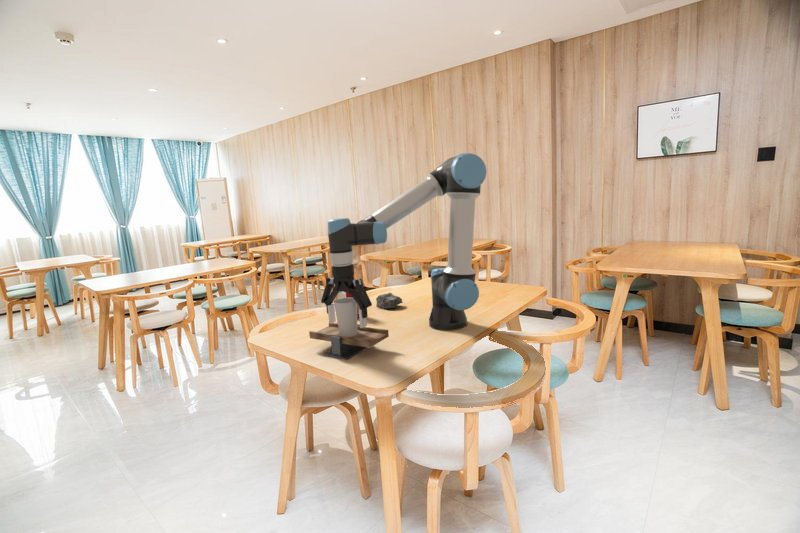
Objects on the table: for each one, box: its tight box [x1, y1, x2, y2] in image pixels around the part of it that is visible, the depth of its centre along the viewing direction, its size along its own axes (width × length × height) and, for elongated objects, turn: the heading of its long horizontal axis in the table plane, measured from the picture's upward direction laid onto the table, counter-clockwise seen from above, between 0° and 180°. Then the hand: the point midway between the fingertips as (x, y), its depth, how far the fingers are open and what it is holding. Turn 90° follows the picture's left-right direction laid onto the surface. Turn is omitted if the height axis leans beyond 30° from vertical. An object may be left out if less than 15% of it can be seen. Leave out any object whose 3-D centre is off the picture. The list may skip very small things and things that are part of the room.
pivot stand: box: [323, 323, 369, 361], centre depth 141 cm, size 10×16×7 cm, turn 149°
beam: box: [308, 322, 390, 349], centre depth 141 cm, size 26×11×2 cm, turn 59°
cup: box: [333, 297, 358, 337], centre depth 139 cm, size 8×8×12 cm
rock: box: [375, 292, 404, 310], centre depth 191 cm, size 13×9×6 cm, turn 70°
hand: (347, 324), depth 140 cm, fingers open, 13 cm apart
